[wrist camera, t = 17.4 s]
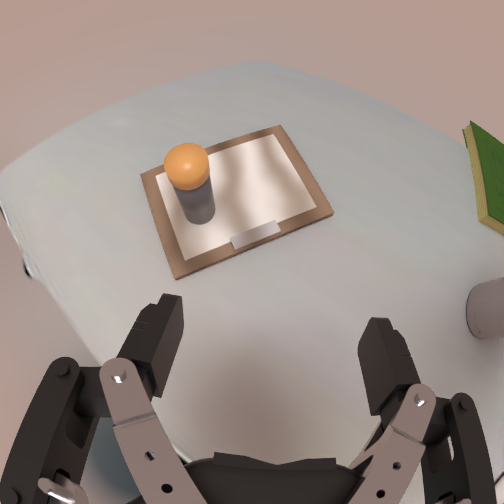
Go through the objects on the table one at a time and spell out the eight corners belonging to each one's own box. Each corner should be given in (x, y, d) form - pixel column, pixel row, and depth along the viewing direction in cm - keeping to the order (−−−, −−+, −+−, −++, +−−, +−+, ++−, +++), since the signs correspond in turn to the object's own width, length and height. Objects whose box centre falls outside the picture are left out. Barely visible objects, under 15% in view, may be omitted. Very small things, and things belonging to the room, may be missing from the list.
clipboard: (279, 128, 41) (281, 121, 39) (332, 215, 37) (336, 210, 35) (142, 177, 37) (138, 171, 36) (176, 280, 34) (173, 277, 32)
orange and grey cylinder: (209, 190, 36) (200, 137, 25) (221, 218, 35) (214, 169, 24) (179, 202, 35) (159, 152, 25) (189, 230, 34) (169, 186, 24)
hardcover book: (524, 250, 38) (535, 245, 34) (476, 221, 39) (489, 214, 35) (509, 160, 45) (517, 154, 41) (461, 127, 46) (469, 118, 42)
